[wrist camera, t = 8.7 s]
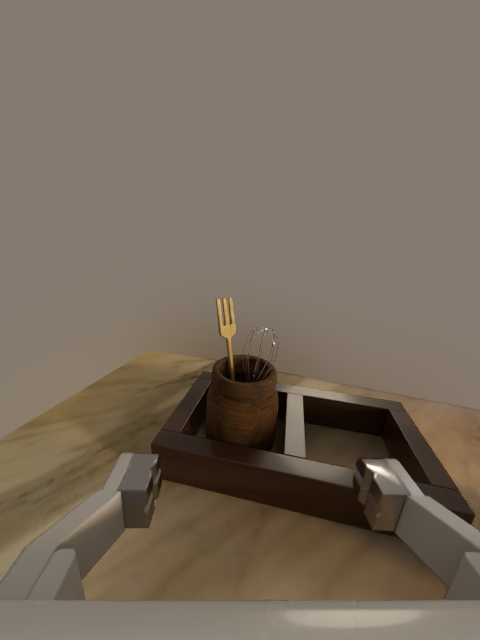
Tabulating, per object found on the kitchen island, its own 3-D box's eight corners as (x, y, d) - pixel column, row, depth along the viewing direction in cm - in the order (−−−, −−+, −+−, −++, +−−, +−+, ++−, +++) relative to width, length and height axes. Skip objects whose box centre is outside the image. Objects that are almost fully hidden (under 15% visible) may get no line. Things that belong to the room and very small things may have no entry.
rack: (459, 552, 15) (476, 515, 14) (152, 477, 18) (150, 443, 17) (392, 428, 24) (400, 402, 24) (202, 395, 28) (202, 370, 27)
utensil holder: (233, 483, 18) (243, 324, 14) (191, 430, 23) (191, 301, 19) (288, 446, 22) (307, 312, 18) (242, 407, 26) (250, 294, 23)
